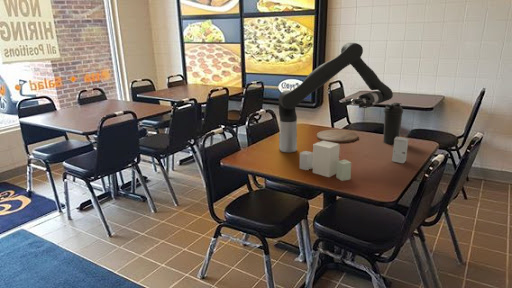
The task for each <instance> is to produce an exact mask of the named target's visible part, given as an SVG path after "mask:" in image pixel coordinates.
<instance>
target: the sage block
mask: <svg viewBox="0 0 512 288" xmlns="http://www.w3.org/2000/svg"><path fill="white" fill-rule="evenodd" d="M335 175H336V176H335V177H336V179H338V180H340V181H341V182H343V181H349V180H351V177H352V162H351V161H350V160H348V159H339V161H337V171H336V174H335Z"/></svg>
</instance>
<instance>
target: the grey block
mask: <svg viewBox="0 0 512 288" xmlns="http://www.w3.org/2000/svg"><path fill="white" fill-rule="evenodd" d="M299 169H300V170H303V171H306V170H308V171H310V170H313V151H312V152H311V151H309V150H303V151H301V152H299ZM309 169H310V170H309Z"/></svg>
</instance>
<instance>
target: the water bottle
mask: <svg viewBox="0 0 512 288" xmlns="http://www.w3.org/2000/svg"><path fill="white" fill-rule="evenodd" d="M401 105H402V103H399V102H393V103H387V104H386V105H385V107H384V109H383V112H384V116H383V118H384V120H383V143H384V144H387V145H394V139H395V138H396V137H401V136H400V135H401V127H402V117H403V114H404V109H403V107H402V106H401Z"/></svg>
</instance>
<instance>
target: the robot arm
mask: <svg viewBox="0 0 512 288" xmlns="http://www.w3.org/2000/svg"><path fill="white" fill-rule="evenodd" d="M363 52H364V49H363V47H362V45H361V44H360V43H357V42H347V43H344V45H342V46H341V51H340V54H339V55H337V56H336V57H335V58H332V59H330V60H328V61H326V62H324V63H322V64H320V65H319V66H317V67H316V68H315V69H313V70H312V71H311V72H310V73H309V74H308V75H307V76H306V77H305V79H304V80H303V81H302V82H301V83H300V84H299V85H298V86H297V87H295V88H294V89H292V90H284V91H282V92H281V93H280V94H279V96H278V114H279V133H278V143H279V144H278V145H279V146H278V147H279V148H278V149H279V150H280V151H281V152H282V153H294V152H296V151H297V150H298V148H297V147H298V145H297V142H298V139H297V137H298V134H297V133H298V131H297V130H298V129H297V127H298V126H297V125H298V124H297V123H298V122H297V121H298V117H297V112H296V107H297V106H299V104H301V103H302V102H303V101H304V100H305V99H306V98H308V96H309V95H311V94H312V93H314V92H316V91H317V90H318V89H320V87H323V86H324V85H325V84H326V83H328V82H329V81H330V80H331V79H332V78H334V77H336V76H337V75H338V74H339V73H340V72H341V71H342V70H343V69H345V68H347V67H348V66H350V65H351V67H352V68H353V69H354V70H355V71H356V72H357V73H358V75H359V76H360V77H361V79H362V80H363V82H364V83H365V84H366V86H367V87H368V89H369V90H370V92H365V93H362V94H360V95H359V96H358V97H357V98H353V97H349V98H346V99H345V101H344V106H345V107H347V106H358V108H360V109H361V108H362V109H368V108H370V107H373V106H375V105H378V104H381V103H384V102H387V101H389V100H391V99H393V96H394V95H393V94H394V93H393V91H392V89H391V88H390V87H389V86H388V85H386V84H385V83H384V82H383V81H382V80H381V79H380V78H379V77H378V75H377V73H376V72H375V71H374V70H373V69H372V68H371V67H370V66H369V65H368V64H367V63H366V62H365V61H364V59H363V58H362V55H363Z"/></svg>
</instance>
